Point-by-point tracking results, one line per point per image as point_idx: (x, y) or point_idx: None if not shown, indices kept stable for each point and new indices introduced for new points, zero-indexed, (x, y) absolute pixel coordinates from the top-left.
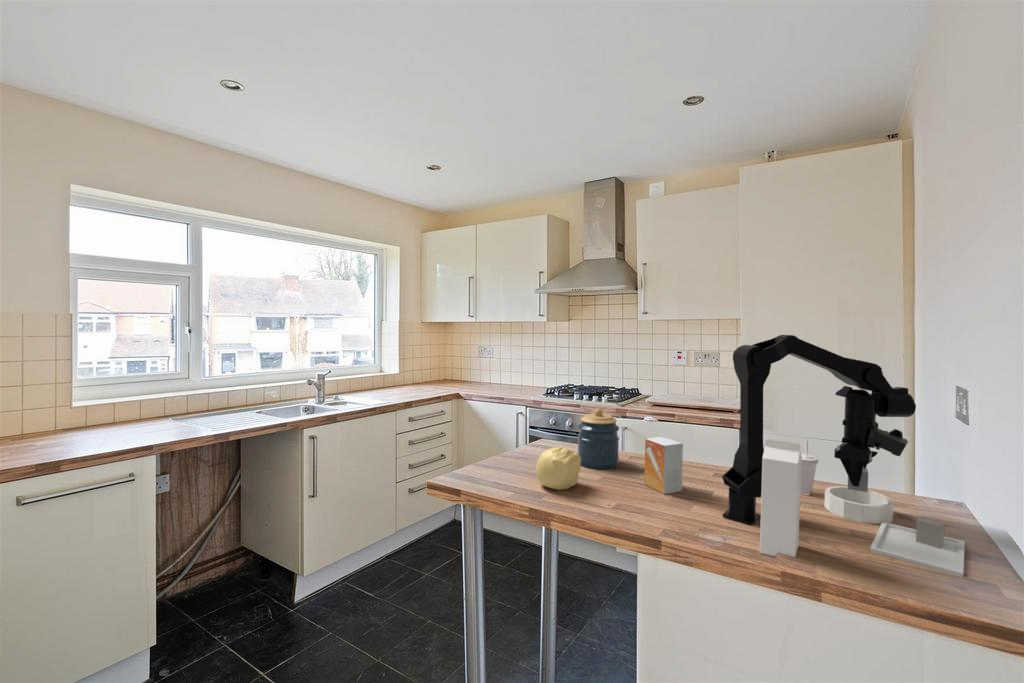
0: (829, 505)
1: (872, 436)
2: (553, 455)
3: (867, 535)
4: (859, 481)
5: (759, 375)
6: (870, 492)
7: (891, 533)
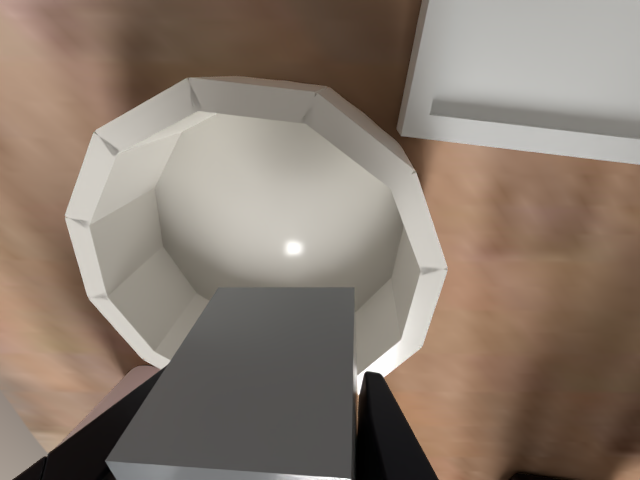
0: None
1: None
2: None
3: (537, 190)
4: (403, 418)
5: None
6: (94, 220)
7: (538, 87)
